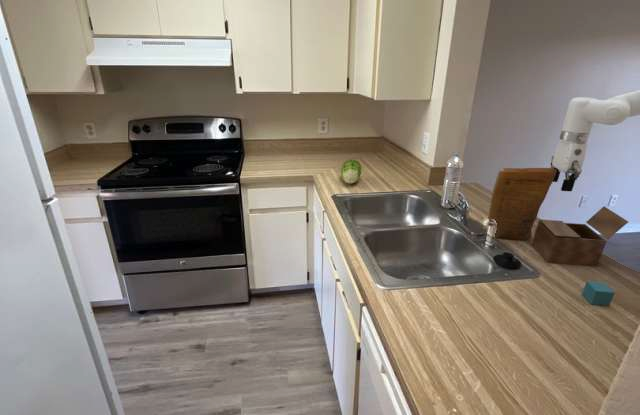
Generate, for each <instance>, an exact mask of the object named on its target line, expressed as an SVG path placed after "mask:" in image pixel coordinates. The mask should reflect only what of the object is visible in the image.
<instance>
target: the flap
mask: <svg viewBox="0 0 640 415" xmlns="http://www.w3.org/2000/svg"><path fill="white" fill-rule="evenodd" d="M628 223H629V221H628V220H627V219H625V218H624V217H622V216H620V215H619V214H617V213H616V212H614V211H613V210H611V209H609V208H608V207H606V206H604V205H603V206H602V207H601V208H599V210H598V211H596V213H595V214H593V215H592V216H591V217H590V218H589V219H588V220H586V221H585V224H586V225H588V226H590V228H593V230H594V231H595V232H596V231H597V233H598V234H599V235H601V236H602V237H603V238H606V240H609V239H610V238H612V237H613V236H614V235H615V234H617V232H619V231H620V230H622V228H624V227H625V226H626V225H627V224H628Z"/></svg>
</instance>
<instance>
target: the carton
mask: <svg viewBox="0 0 640 415" xmlns="http://www.w3.org/2000/svg"><path fill="white" fill-rule="evenodd" d="M607 243H608V240H607V239H605V237H604V236H602V235H601V234H600V233H598V232H596V230H594V229H592V227H591V226H590V227H589V225H588V224H587V223H573V222H565V221H563V220H556V219H555V220H554V219H539V220H538V222H537V224H536V229H535V232H534V235H533V238H532V241H531V246H532V247H533V248H534V249H535V251H536V252H537V253H538V254H539V255H540V257H542V258H543V260H544V261H545V262H546V263H547V264H548V263H550V264H561V265H573V266H574V265H575V266H587V267H598V265H599V262H600V260H601V257H602V254H603V252H604V250H605V247H606V244H607Z"/></svg>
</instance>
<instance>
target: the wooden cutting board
mask: <svg viewBox="0 0 640 415" xmlns="http://www.w3.org/2000/svg"><path fill="white" fill-rule="evenodd" d="M502 169H503V170H498V171H499V172H498V173H497V176H496V178H495V183H494V186H493V189H492V192H491V198H490V202H489V203H490V204H489V211H488V217H487V220H488V219H494V220H495V221H496V223H497V230H496V233H495V237H496V238H495V239H504V240H516V241H524V242H526V241H529V240H531V239H532V230H533V226H534V224H535V221H536V220H537V217H538V214H539V211H540V209H541V206H542V204H543V203H544V201H545V199H546V197H547V194H548V192H549V190H550V187H551V186H552V184H553V183H554V182H553V179H554V177H555V174H556V171H557V170H556V169H554V168H550V167H522V168H519V167H515V168H514V167H503V168H502ZM486 231H487V228H486V230H485V231H484V234H485V233H486Z"/></svg>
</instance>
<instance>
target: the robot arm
mask: <svg viewBox="0 0 640 415" xmlns="http://www.w3.org/2000/svg"><path fill="white" fill-rule="evenodd" d="M636 116H640V89H639V90H635V91H631V92H627V93H622V94H619V95H616V96H612V97H609V98H606V99H598V98H596V97H587V96H586V97H582V96H577V97H574V98H572V99H571V100H570V101H569V104H568V107H567V111H566V113H565V117H564V121H563V124H562V128H561V131H560V134H559V137H558V138H559V139H558V140H559V141H558V143H557V145H556V148H555V152H554V154H553V155H552V156H551V162H550V167H549V168H554V169H556V170H557V171H556V174H555V177H554V179H553V182H552V183H557V182H559V178H560V175H561V172H562V173H564V174H565V176H564V177H565V179H563V182H562V183H561V184H562V185H561V187H560V191H561V192H573V189H574V186H575V182H576V181H577V179H578V178H580V176H581V174H582V172H583V165H584V161H585V157H586V152H587V143H588V139H589V136H590V134H591V131H592V129H593V128H592V127H593V124H594V123H596V124H599V125H600V124H601V125H606V126H615V125H619V124H621V123H623V122H625V121H626V120H627V119H628V118H631V117H636Z"/></svg>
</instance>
